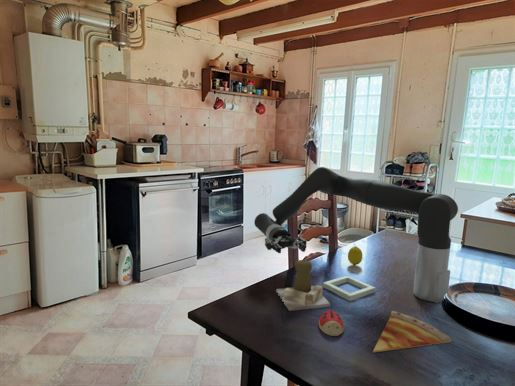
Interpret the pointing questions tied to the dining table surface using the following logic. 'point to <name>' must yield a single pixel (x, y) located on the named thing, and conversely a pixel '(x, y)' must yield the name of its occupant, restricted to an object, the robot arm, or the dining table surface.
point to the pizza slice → (408, 333)
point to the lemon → (355, 255)
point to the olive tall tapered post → (303, 276)
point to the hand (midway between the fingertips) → (292, 249)
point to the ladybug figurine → (331, 323)
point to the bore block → (349, 296)
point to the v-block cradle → (303, 298)
